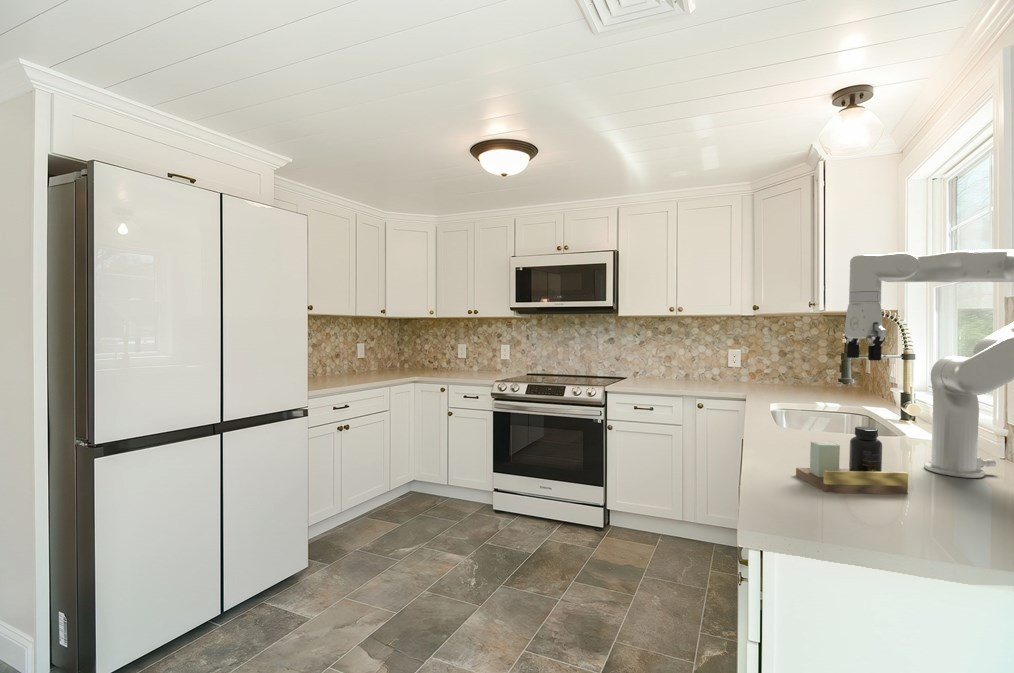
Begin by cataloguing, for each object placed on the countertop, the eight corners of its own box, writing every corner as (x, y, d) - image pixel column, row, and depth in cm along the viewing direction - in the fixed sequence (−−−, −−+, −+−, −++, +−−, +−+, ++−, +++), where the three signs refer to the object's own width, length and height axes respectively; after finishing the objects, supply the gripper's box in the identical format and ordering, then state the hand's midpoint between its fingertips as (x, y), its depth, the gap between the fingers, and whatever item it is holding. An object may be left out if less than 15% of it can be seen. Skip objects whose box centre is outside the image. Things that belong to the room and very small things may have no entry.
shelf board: (869, 476, 138) (870, 457, 138) (907, 494, 124) (908, 473, 124) (796, 475, 139) (796, 456, 139) (825, 492, 125) (826, 471, 125)
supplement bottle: (843, 470, 136) (844, 425, 136) (871, 471, 136) (873, 425, 135) (857, 478, 130) (859, 430, 129) (887, 479, 129) (889, 431, 128)
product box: (829, 472, 135) (830, 441, 135) (838, 477, 131) (839, 445, 131) (809, 472, 135) (810, 441, 135) (818, 476, 131) (819, 445, 131)
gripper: (833, 300, 157) (832, 356, 158) (871, 297, 140) (869, 361, 141) (859, 300, 157) (857, 357, 158) (899, 297, 140) (898, 361, 140)
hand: (863, 359), depth 149 cm, fingers open, 9 cm apart
